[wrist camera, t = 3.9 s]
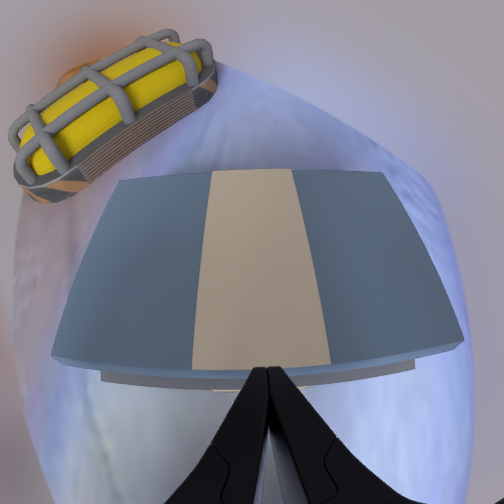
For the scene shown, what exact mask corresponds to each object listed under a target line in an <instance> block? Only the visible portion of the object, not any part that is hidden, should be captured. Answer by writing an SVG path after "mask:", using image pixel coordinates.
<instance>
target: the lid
mask: <svg viewBox="0 0 504 504" xmlns="http://www.w3.org/2000/svg"><path fill="white" fill-rule="evenodd" d="M463 341H464V337H463V334H462V331H461V328H460V326H459V323H458V320H457V318H456V315H455V313H454V310H453V307H452V305H451V302H450V300H449V298H448V295H447V293H446V291H445V288H444V286H443V284H442V281H441V279H440V277H439V275H438V273H437V270H436V268H435V266H434V264H433V262H432V260H431V258H430V256H429V254H428V252H427V250H426V248H425V246H424V244H423V242H422V240H421V238H420V236H419V234H418V232H417V230H416V228H415V227H414V225H413V223H412V221H411V219H410V218H409V216H408V214H407V212H406V210H405V209H404V207H403V205H402V204H401V202H400V200H399V198H398V197H397V195H396V193H395V192H394V190H393V189H392V187H391V185H390V184H389V182H388V181H387V179H386V177H385V176H384V174H383V173H380V172H361V171H334V170H291V169H245V170H221V171H212V172H209V173H193V174H180V175H168V176H157V177H146V178H137V179H128V180H120V181H119V183H118V185H117V187H116V188H115V190H114V192H113V194H112V196H111V198H110V200H109V202H108V204H107V206H106V208H105V210H104V212H103V214H102V217H101V219H100V221H99V223H98V225H97V227H96V229H95V232H94V234H93V236H92V238H91V241H90V243H89V245H88V248H87V250H86V252H85V255H84V257H83V260H82V262H81V265H80V267H79V270H78V272H77V275H76V278H75V280H74V283H73V286H72V288H71V291H70V294H69V297H68V300H67V303H66V306H65V309H64V312H63V315H62V318H61V321H60V325H59V328H58V331H57V335H56V338H55V342H54V345H53V349H52V353H51V356H52V357H53V358H54V359H56V360H57V361H58V362H59V363H61V364H62V365H67V366H73V367H79V368H85V369H92V370H99V371H107V372H115V373H124V374H135V375H146V376H160V377H178V378H248V376H249V374H250V372H251V370H252V368H253V367H266V368H267V367H269V366H280V367H282V369H283V370H284V371H285V373H286V374H287V375H288V376H298V375H310V374H320V373H329V372H338V371H346V370H353V369H360V368H367V367H373V366H379V365H385V364H391V363H396V362H401V361H406V360H411V359H416V358H421V357H425V356H430V355H434V354H438V353H442V352H446V351H450V350H454V349H455V348H456V347H457V346H458V345H459V344H460V343H462V342H463Z"/></svg>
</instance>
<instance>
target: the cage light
mask: <svg viewBox="0 0 504 504" xmlns="http://www.w3.org/2000/svg"><path fill="white" fill-rule="evenodd" d="M165 38H168V39H169V41H170V42H160V41H161V40H163V39H165ZM198 49H200V50H198ZM134 53H136V54H134ZM132 54H134V55H132ZM130 55H132V56H130ZM128 56H130V57H128ZM126 57H128V58H126ZM124 58H126V59H124ZM122 59H124V60H122ZM120 60H122V61H120ZM118 61H120V62H118ZM117 62H118V63H117ZM115 63H117V64H115ZM113 64H115V65H113ZM111 65H113V66H111ZM109 66H111V67H110V68H108V67H109ZM106 68H108V69H106ZM104 69H106V70H104ZM103 70H104V71H103ZM101 71H103V72H101ZM99 72H101V73H99ZM83 82H84V83H83ZM82 83H83V84H82ZM217 83H218V82H217V73H216V63H215V61H214V59H213V52H212V47H211V45H210V43H209V42H208V41H206V40H205V39H195V40H192V41H190V42H187V43H185V44H180V40H179V36H178V33H177V32H176V31H174V30H172V29H164V30H161V31H159V32H157V33H154V34H152V35H150V36H148V37H145V36H140V37H138V38H137V39H136V41H135V43H133V44H130V45H128V46H126V47H124V48H123V49H121V50H119V51H117V52H115V53H113V54H111V55H109V56H107V57H106V58H104V59H102V60H100V61H99V62H97V63H95V64H93V65H92V66H84V67H83V68H82V69H81V71H80V73H79V74H77V75H76V76H74V77H73V78H71V79H70V80H68V81H67V82H65V83H64V84H62V85H61V86H59V87H58V88H56V89H55V90H54V91H52V92H51V93H49V94H48V95H47V96H45V97H44V98H43V99H41V100H40V101H39V102H37V103H36V104H35V105H33V104H30V105H28V106H27V108H26V112H25V113H24V114H23V115H21V116H20V117H19V118H18V119H17V120H16V121H15V122H14V123H13V124H12V125H11V127H10V129H9V132H8V141H9V143H10V145H11V146H12V147H13V149H14V150H15V151H16V152H17V155H16V159H15V162H14V177H15V179H16V180H17V182H18V183H19V185H20V186H21V187H22V188H23V189H24V190H25V191H26V192H27V194H28V195H29V196H30V197H31V198H32V199H33V200H35V201H38V202H40V203H43V204H45V203H55V202H59V201H61V200H64V199H66V198H68V197H71V196H73V195H75V194H76V193H78V192H79V191H80V190H82V189H83V188H85V187H86V186H88V185H89V184H91V183H92V182H93V181H94V180H96V179H97V178H98V177H99V176H101V175H102V174H103V173H104V172H106V171H107V170H108V169H109V168H111V167H112V166H113V165H115V164H116V163H117V162H119V161H120V160H121V159H123V158H124V157H126V156H127V155H128V154H130V153H131V152H132V151H134V150H135V149H137V148H138V147H140V146H141V145H142V144H144V143H145V142H147V141H148V140H150V139H151V138H153V137H154V136H156V135H157V134H159V133H160V132H162V131H163V130H165V129H166V128H168V127H170V126H171V125H173V124H174V123H176V122H177V121H179V120H181V119H182V118H184V117H186V116H187V115H189V114H191V113H192V112H194V111H196V110H197V109H198V108H200V107H201V106H203V105H204V104H205V103H207V102H208V101H209V100H210V99H211V97H212V96H213V95H214V93H215V92H216V88H217ZM80 84H82V85H80ZM78 85H80V86H79V87H77V86H78ZM75 87H77V88H76V89H74V88H75ZM72 89H74V90H73V91H71V90H72ZM70 91H71V92H70ZM68 92H70V93H68ZM67 93H68V94H67ZM65 94H67V95H65ZM64 95H65V96H64ZM62 96H64V97H63V98H61V97H62ZM60 98H61V99H60ZM58 99H60V100H58ZM57 100H58V101H57ZM55 101H57V102H56V103H54V102H55ZM53 103H54V104H53ZM51 104H53V105H52V106H50V105H51ZM49 106H50V107H49ZM47 107H49V108H48V109H46V108H47ZM45 109H46V110H45ZM44 110H45V111H44ZM42 111H44V112H42ZM41 112H42V114H40V113H41ZM29 122H30V124H29V126H28V127H27V128H26V130H25V132H24V134H23V136H22V140H21V139H20V138H19V136H18V132H19V130H20V129H22V128H23V127H24V126H25V125H26V124H27V123H29Z"/></svg>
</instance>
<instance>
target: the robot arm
mask: <svg viewBox="0 0 504 504" xmlns="http://www.w3.org/2000/svg"><path fill="white" fill-rule="evenodd" d="M268 427H269V434H270V440H271V445H272V450H273V455H274V460H275V465H276V470H277V475H278V479H279V484H280V489H281V494H282V499H283V504H425V503H421V502H416V501H413V500H410V499H408V498H406V497H404V496H402V495H400V494H399V493H397V492H396V491H395V490H393V489H392V488H391V487H390V486H388V485H387V484H386V483H385V482H383V481H382V480H381V479H380V478H379V477H377V476H376V475H375V474H374V473H373V472H371V471H370V470H369V469H368V468H367V467H366V466H365V465H363V464H362V463H361V462H360V461H359V460H358V459H357V458H356V457H355V456H354V455H353V454H352V453H351V452H350V451H349V450H348V449H347V447H346V446H345V445H344V444H343V443H342V442H341V440H340V439H339V438H338V437H337V438H336V435H335V434H334V432H333V431H332V430H331V429H330V427H329V426H328V425H327V424H326V423H325V421H324V420H323V419H322V418H321V417H320V415H319V414H318V413H317V412H316V410H315V409H314V408H313V407H312V405H311V404H310V403H309V402H308V400H307V399H306V398H305V397H304V395H303V394H302V393H301V392H300V390H299V389H298V388H297V387H296V385H295V384H294V383H293V382H292V380H291V379H290V378H289V376H288V375H287V374H286V373H285V371H284V370H283V369H282V367H280V366H269V367H267V368H266V367H253V368H252V370H251V372H250V374H249V376H248V378H247V379H246V381H245V383H244V385H243V387H242V389H241V390H240V392H239V394H238V396H237V398H236V400H235V401H234V403H233V405H232V407H231V408H230V410H229V412H228V414H227V416H226V417H225V419H224V421H223V423H222V424H221V426H220V428H219V430H218V431H217V433H216V435H215V436H214V438H213V440H212V442H211V444H210V445H209V446H208V448H207V450H206V451H205V453H204V455H203V456H202V458H201V459H200V461H199V462H198V464H197V465H196V467H195V468H194V469H193V471H192V472H191V473H190V474H189V476H188V477H187V478H186V479H185V480H184V482H183V483H182V484H181V485H180V486H179V487H178V488H177V490H176V491H175V492H174V493H173V494H172V495H171V496H170V497H169V498H168V500H167V501H166V502H165V503H164V504H261V497H262V489H263V480H264V471H265V462H266V452H267V442H268ZM495 504H504V498H502V499H501V500H500V501H498V502H496V503H495Z"/></svg>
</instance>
